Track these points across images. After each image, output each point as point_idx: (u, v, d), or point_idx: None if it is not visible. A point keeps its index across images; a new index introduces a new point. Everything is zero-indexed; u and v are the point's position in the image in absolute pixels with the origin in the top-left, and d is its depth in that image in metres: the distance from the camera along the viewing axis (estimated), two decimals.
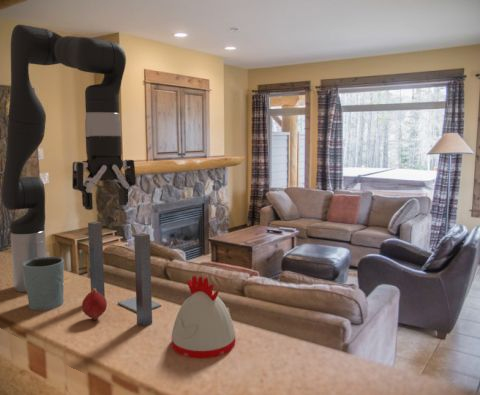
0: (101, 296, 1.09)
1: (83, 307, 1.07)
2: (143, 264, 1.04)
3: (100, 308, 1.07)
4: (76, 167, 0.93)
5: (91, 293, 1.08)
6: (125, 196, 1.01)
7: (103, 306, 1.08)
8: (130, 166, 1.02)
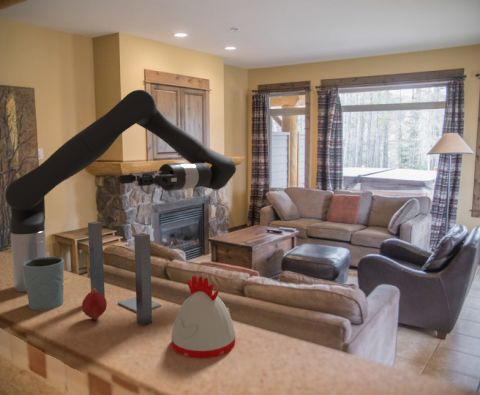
0: (101, 296, 1.09)
1: (83, 307, 1.07)
2: (143, 264, 1.04)
3: (100, 308, 1.07)
4: (173, 181, 1.15)
5: (91, 293, 1.08)
6: None
7: (103, 306, 1.08)
8: None
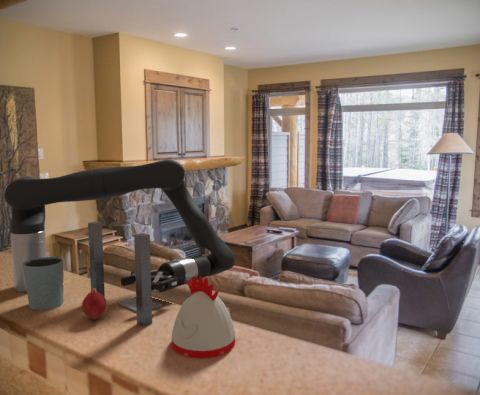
0: (101, 296, 1.09)
1: (83, 307, 1.07)
2: (143, 264, 1.04)
3: (100, 308, 1.07)
4: (174, 285, 1.19)
5: (91, 293, 1.08)
6: None
7: (103, 306, 1.08)
8: None
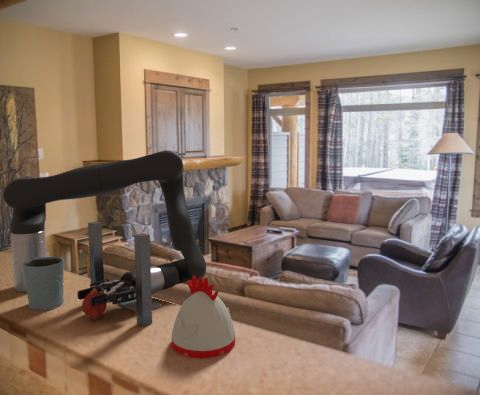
0: None
1: (83, 307, 1.07)
2: (143, 264, 1.04)
3: (100, 308, 1.07)
4: (131, 297, 1.09)
5: (91, 293, 1.08)
6: None
7: (103, 306, 1.08)
8: None
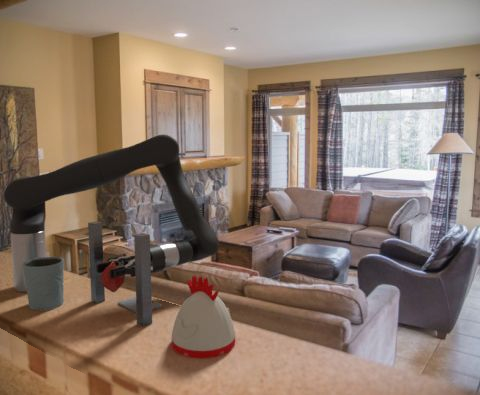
0: None
1: (102, 279, 1.11)
2: (143, 264, 1.04)
3: (118, 281, 1.11)
4: None
5: (109, 266, 1.11)
6: None
7: (121, 279, 1.11)
8: None
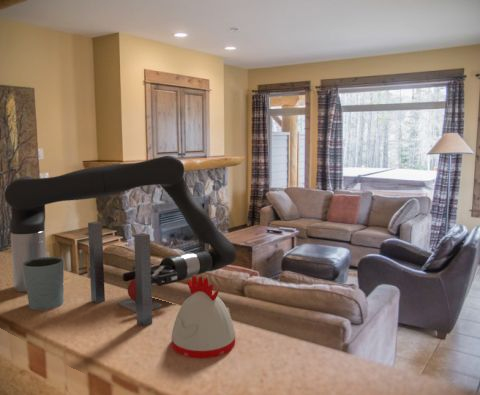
0: None
1: (129, 292, 1.17)
2: (143, 264, 1.04)
3: None
4: (173, 279, 1.19)
5: None
6: None
7: None
8: None
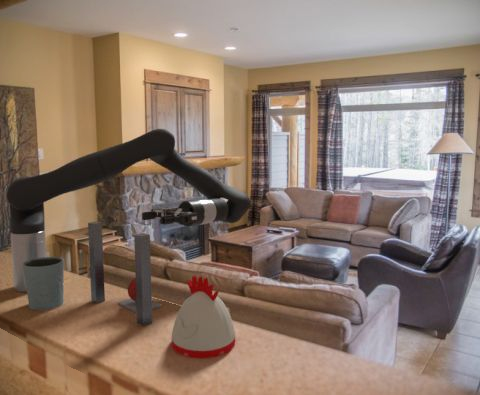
0: None
1: (129, 291, 1.17)
2: (143, 264, 1.04)
3: None
4: (194, 219, 1.21)
5: None
6: None
7: None
8: (165, 216, 1.30)
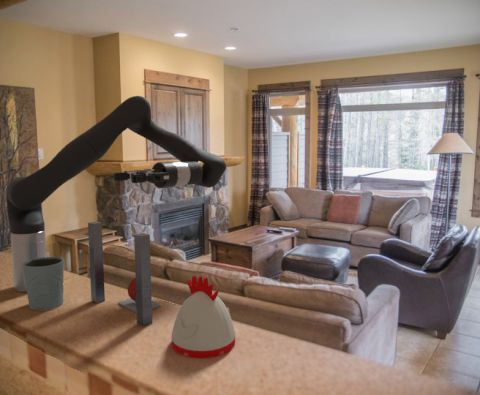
0: None
1: (129, 291, 1.17)
2: (143, 264, 1.04)
3: None
4: (166, 179, 1.21)
5: None
6: (121, 180, 1.24)
7: None
8: None
